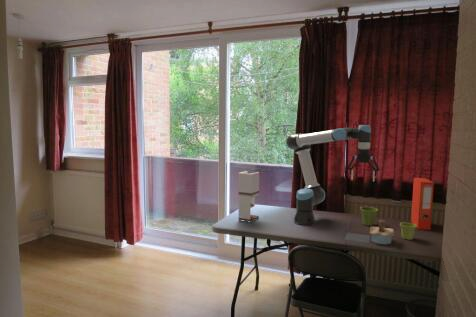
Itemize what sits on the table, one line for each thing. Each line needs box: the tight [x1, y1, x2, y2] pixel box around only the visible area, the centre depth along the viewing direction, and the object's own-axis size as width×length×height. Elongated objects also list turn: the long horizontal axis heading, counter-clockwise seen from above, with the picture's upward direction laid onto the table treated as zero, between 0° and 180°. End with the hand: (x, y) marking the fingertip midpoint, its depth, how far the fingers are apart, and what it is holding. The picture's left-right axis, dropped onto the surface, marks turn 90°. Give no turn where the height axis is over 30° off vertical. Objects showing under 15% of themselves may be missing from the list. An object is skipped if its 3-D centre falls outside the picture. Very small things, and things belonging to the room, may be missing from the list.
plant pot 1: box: [359, 206, 379, 227], centre depth 241 cm, size 12×12×11 cm
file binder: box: [410, 177, 435, 231], centre depth 237 cm, size 8×17×32 cm, turn 167°
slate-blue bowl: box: [370, 234, 392, 245], centre depth 208 cm, size 11×11×6 cm
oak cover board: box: [369, 219, 394, 238], centre depth 207 cm, size 13×13×7 cm
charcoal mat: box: [343, 232, 371, 244], centre depth 214 cm, size 14×14×1 cm
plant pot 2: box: [399, 222, 417, 241], centre depth 214 cm, size 9×9×9 cm
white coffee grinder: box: [238, 170, 260, 223], centre depth 252 cm, size 11×11×35 cm
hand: (362, 180), depth 230 cm, fingers open, 13 cm apart
